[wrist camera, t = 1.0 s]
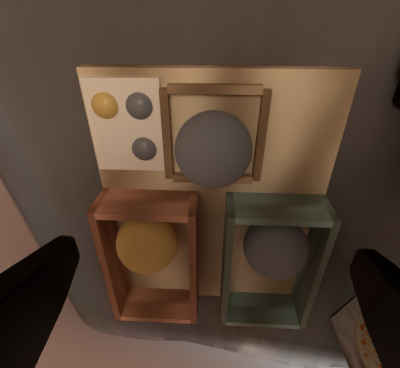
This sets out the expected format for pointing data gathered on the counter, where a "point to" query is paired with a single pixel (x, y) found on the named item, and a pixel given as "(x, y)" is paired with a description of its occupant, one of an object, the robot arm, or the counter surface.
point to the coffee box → (355, 337)
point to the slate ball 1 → (213, 149)
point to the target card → (125, 121)
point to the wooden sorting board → (229, 193)
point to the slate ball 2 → (275, 250)
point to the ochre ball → (147, 245)
